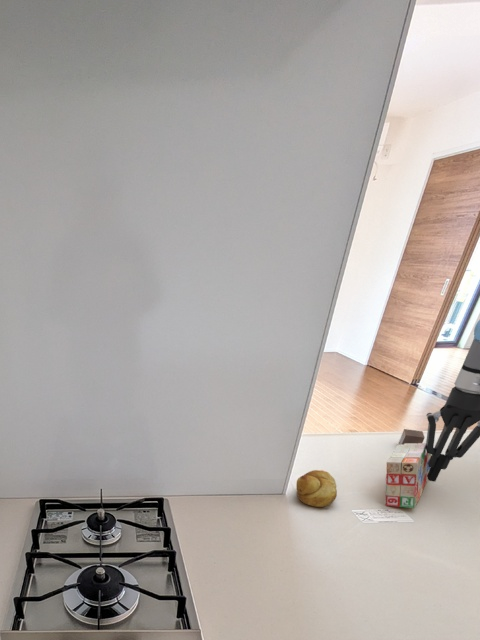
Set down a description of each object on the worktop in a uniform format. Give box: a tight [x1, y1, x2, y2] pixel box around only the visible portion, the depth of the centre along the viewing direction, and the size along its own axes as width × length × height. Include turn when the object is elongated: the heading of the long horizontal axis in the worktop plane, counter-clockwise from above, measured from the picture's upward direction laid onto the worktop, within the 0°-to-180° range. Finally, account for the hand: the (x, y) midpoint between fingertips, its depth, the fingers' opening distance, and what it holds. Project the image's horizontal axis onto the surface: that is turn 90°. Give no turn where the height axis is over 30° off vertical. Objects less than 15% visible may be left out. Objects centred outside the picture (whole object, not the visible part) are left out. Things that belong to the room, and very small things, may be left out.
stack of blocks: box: [385, 442, 432, 509], centre depth 114 cm, size 21×6×12 cm, turn 139°
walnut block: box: [398, 428, 426, 445], centre depth 136 cm, size 5×5×5 cm
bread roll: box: [296, 469, 338, 508], centre depth 114 cm, size 13×10×8 cm
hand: (431, 478), depth 113 cm, fingers closed
